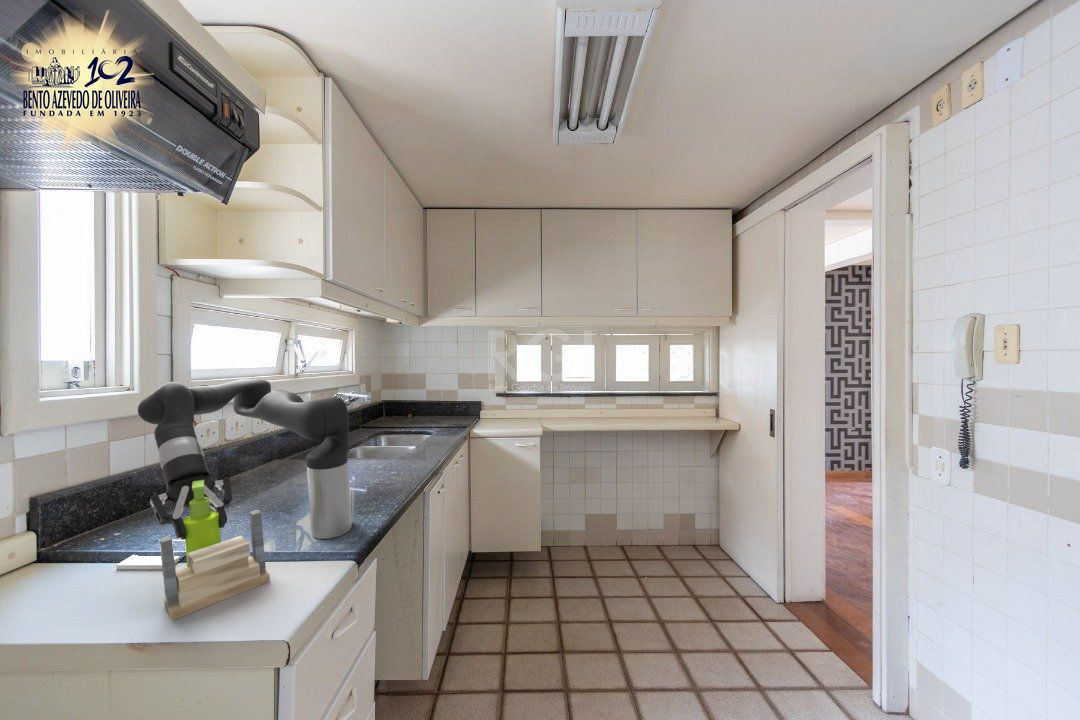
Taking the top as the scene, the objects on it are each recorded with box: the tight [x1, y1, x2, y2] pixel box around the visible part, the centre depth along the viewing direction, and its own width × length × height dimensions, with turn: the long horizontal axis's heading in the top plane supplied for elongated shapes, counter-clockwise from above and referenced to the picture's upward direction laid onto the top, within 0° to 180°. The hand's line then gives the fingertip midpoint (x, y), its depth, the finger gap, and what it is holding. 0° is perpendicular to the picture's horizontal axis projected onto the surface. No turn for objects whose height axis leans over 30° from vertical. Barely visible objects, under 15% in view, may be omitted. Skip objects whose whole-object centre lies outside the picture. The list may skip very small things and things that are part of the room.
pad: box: [115, 539, 185, 570], centre depth 106 cm, size 11×11×1 cm
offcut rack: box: [158, 509, 271, 621], centre depth 91 cm, size 6×16×14 cm, turn 139°
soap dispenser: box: [183, 480, 222, 568], centre depth 97 cm, size 6×7×20 cm
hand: (203, 531), depth 95 cm, fingers closed on soap dispenser, 6 cm apart
